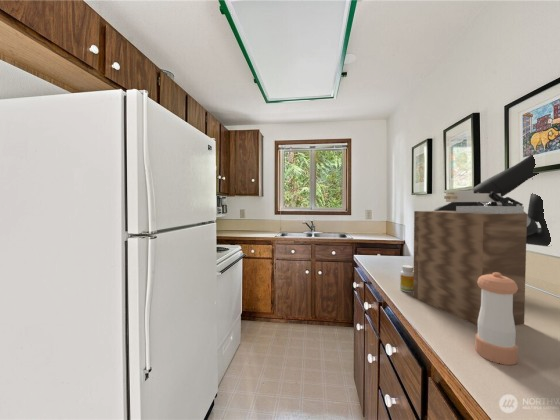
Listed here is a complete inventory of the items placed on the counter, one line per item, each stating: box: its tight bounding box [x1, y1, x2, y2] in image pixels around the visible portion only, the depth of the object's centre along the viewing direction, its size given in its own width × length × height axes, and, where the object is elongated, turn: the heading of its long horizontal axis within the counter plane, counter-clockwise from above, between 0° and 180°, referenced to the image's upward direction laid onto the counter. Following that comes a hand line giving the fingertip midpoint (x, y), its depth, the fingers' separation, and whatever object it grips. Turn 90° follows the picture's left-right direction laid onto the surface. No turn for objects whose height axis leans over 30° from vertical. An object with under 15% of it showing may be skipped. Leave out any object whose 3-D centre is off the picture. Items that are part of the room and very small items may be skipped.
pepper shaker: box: [474, 272, 518, 366], centre depth 57 cm, size 7×7×19 cm
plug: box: [443, 189, 501, 203], centre depth 89 cm, size 5×22×4 cm, turn 106°
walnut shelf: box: [412, 210, 528, 327], centre depth 82 cm, size 26×14×32 cm, turn 16°
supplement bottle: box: [399, 264, 414, 294], centre depth 99 cm, size 5×5×10 cm
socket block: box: [456, 205, 525, 214], centre depth 75 cm, size 11×12×2 cm
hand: (484, 193), depth 90 cm, fingers closed on plug, 4 cm apart
